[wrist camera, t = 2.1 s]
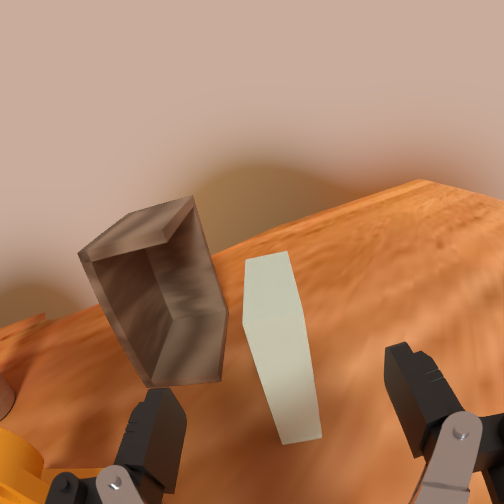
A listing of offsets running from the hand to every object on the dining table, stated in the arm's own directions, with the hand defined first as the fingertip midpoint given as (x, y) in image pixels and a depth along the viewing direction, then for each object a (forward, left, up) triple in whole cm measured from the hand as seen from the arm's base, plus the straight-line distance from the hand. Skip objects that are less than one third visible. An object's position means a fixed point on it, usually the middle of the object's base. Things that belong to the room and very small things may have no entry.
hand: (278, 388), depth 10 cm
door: (0, +11, -16) cm, 19 cm away
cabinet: (-10, +23, -15) cm, 30 cm away
